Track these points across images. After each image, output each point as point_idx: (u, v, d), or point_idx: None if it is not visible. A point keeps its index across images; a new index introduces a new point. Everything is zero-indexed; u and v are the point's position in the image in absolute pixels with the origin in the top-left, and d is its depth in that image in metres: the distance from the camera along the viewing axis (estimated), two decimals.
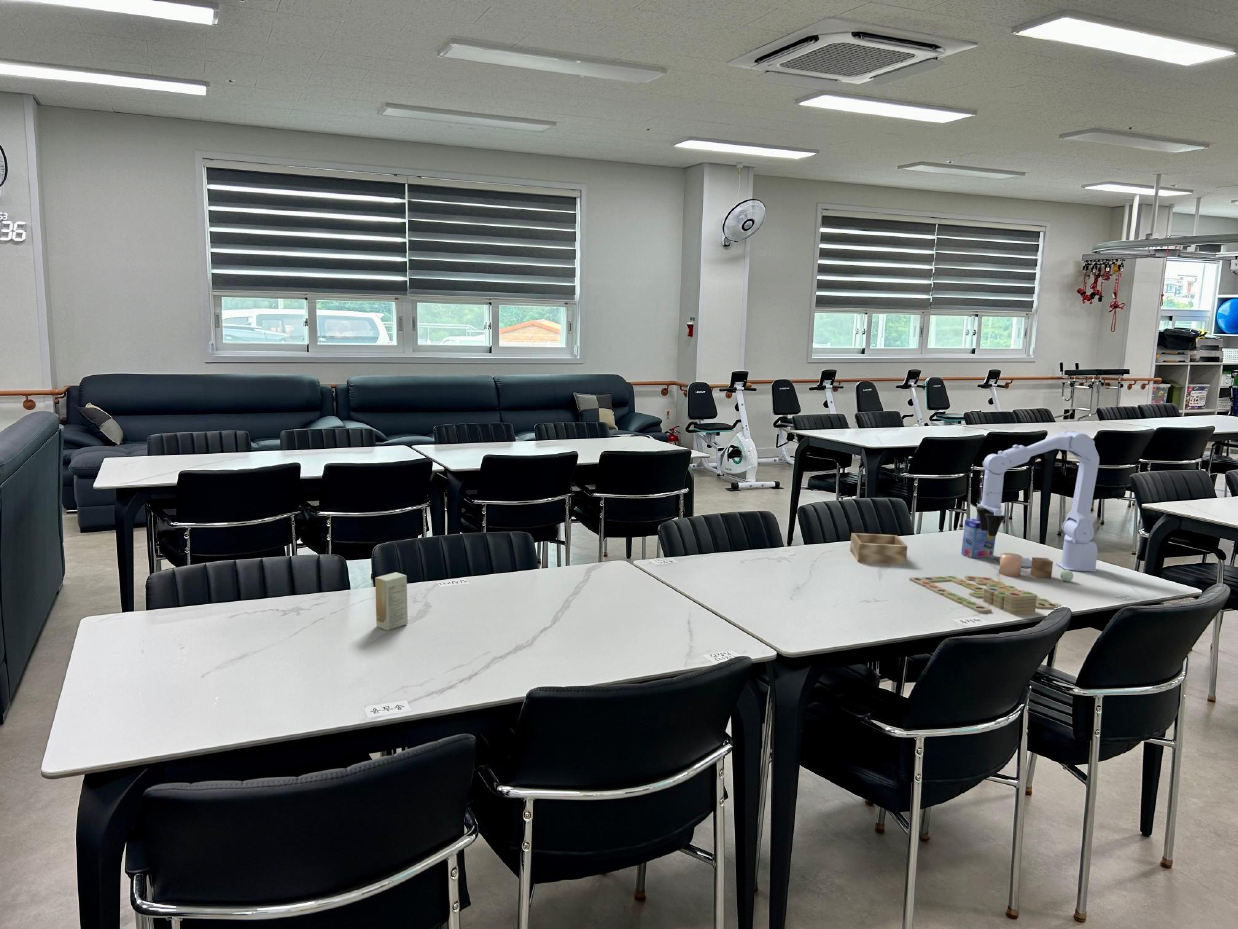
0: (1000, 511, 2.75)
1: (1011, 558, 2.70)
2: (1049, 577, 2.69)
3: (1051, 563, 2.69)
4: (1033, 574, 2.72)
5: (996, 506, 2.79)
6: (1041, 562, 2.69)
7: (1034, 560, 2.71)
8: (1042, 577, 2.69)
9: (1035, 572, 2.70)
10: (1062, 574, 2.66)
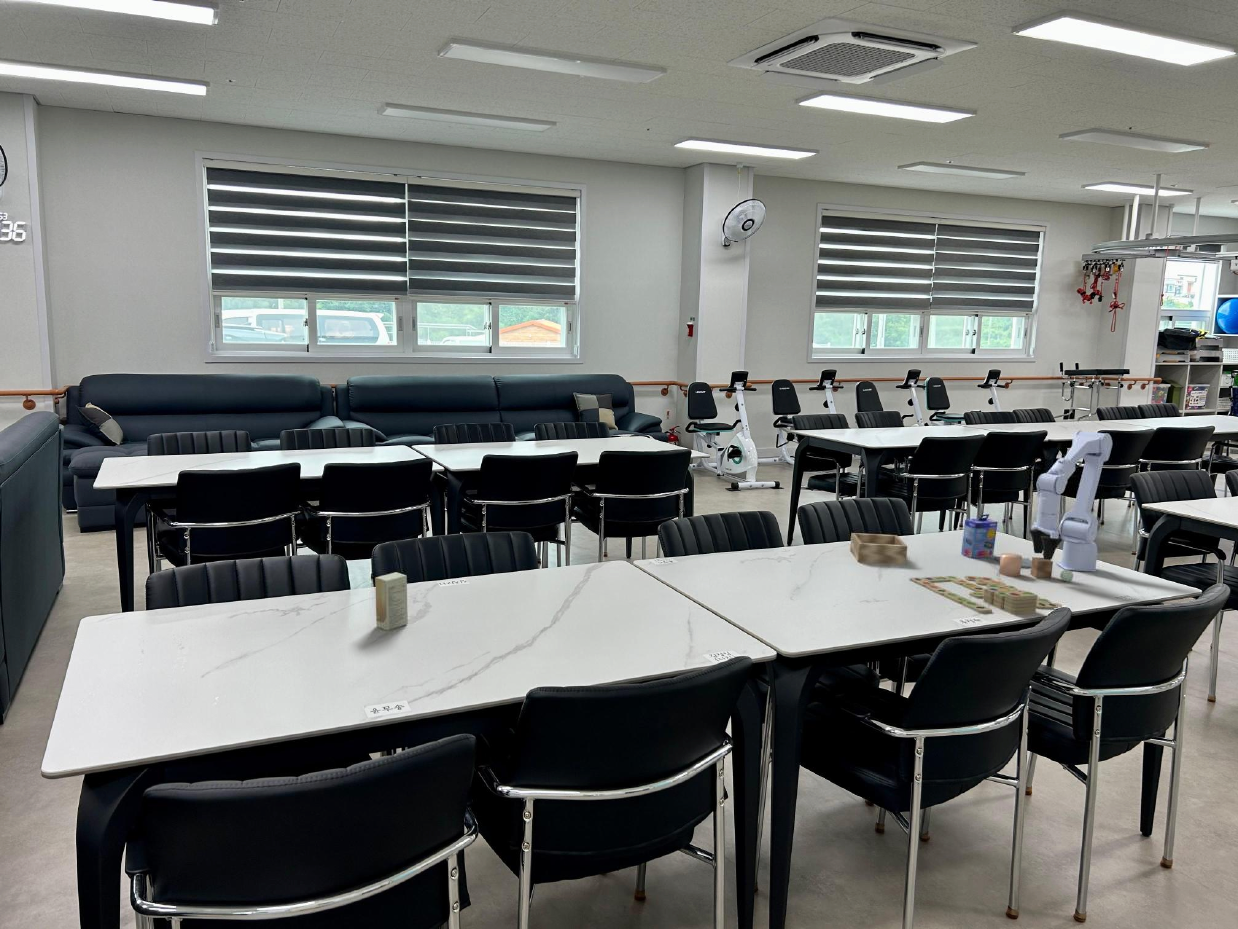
0: (1057, 534, 2.62)
1: (1011, 558, 2.70)
2: (1049, 577, 2.69)
3: (1051, 563, 2.69)
4: (1033, 574, 2.72)
5: (1052, 528, 2.66)
6: (1041, 562, 2.69)
7: (1034, 560, 2.71)
8: (1042, 577, 2.69)
9: (1035, 572, 2.70)
10: (1062, 574, 2.66)
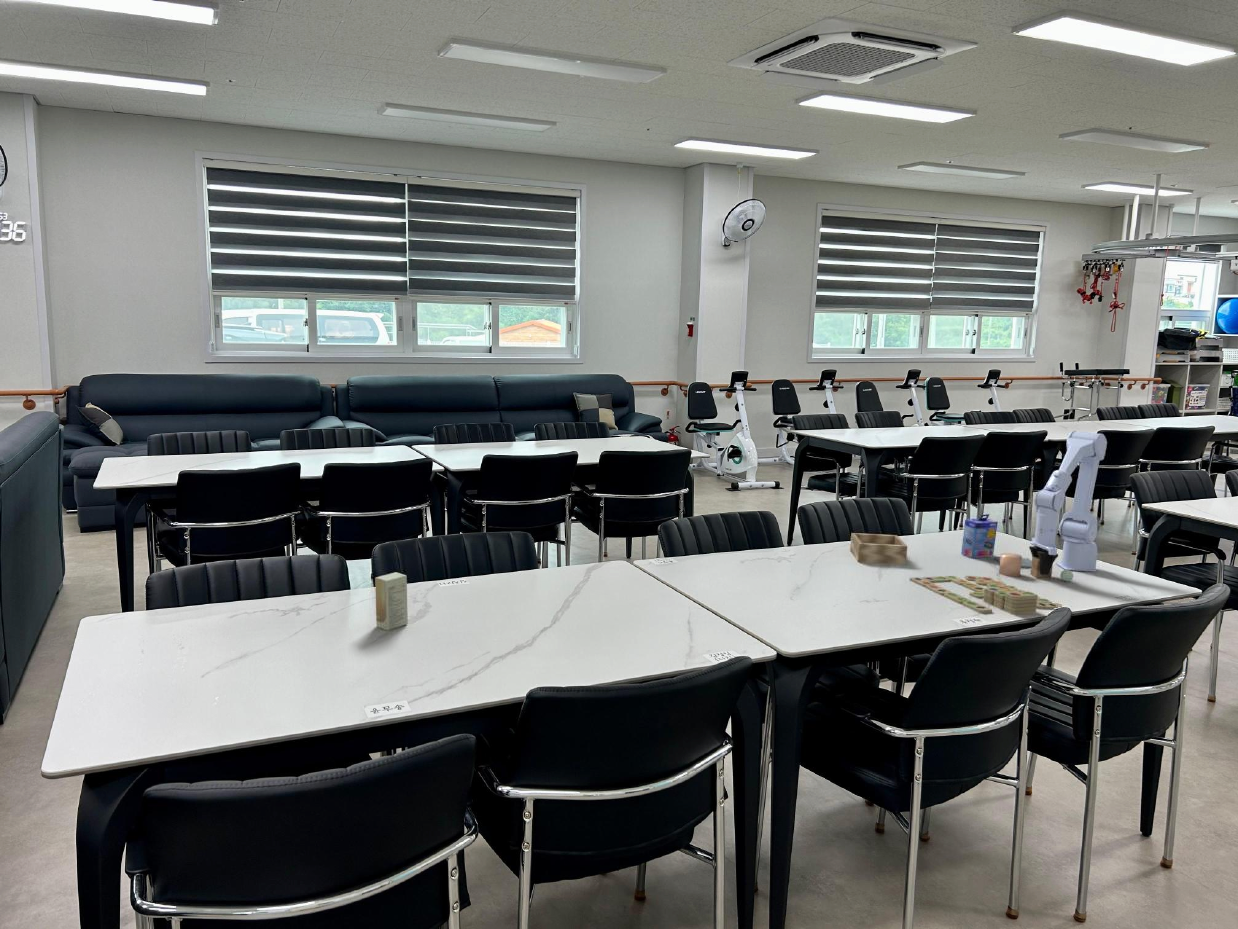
0: (1055, 550, 2.63)
1: (1011, 558, 2.70)
2: (1049, 577, 2.69)
3: None
4: (1033, 574, 2.72)
5: (1050, 544, 2.67)
6: None
7: (1034, 560, 2.71)
8: (1042, 577, 2.69)
9: (1035, 572, 2.70)
10: (1062, 574, 2.66)
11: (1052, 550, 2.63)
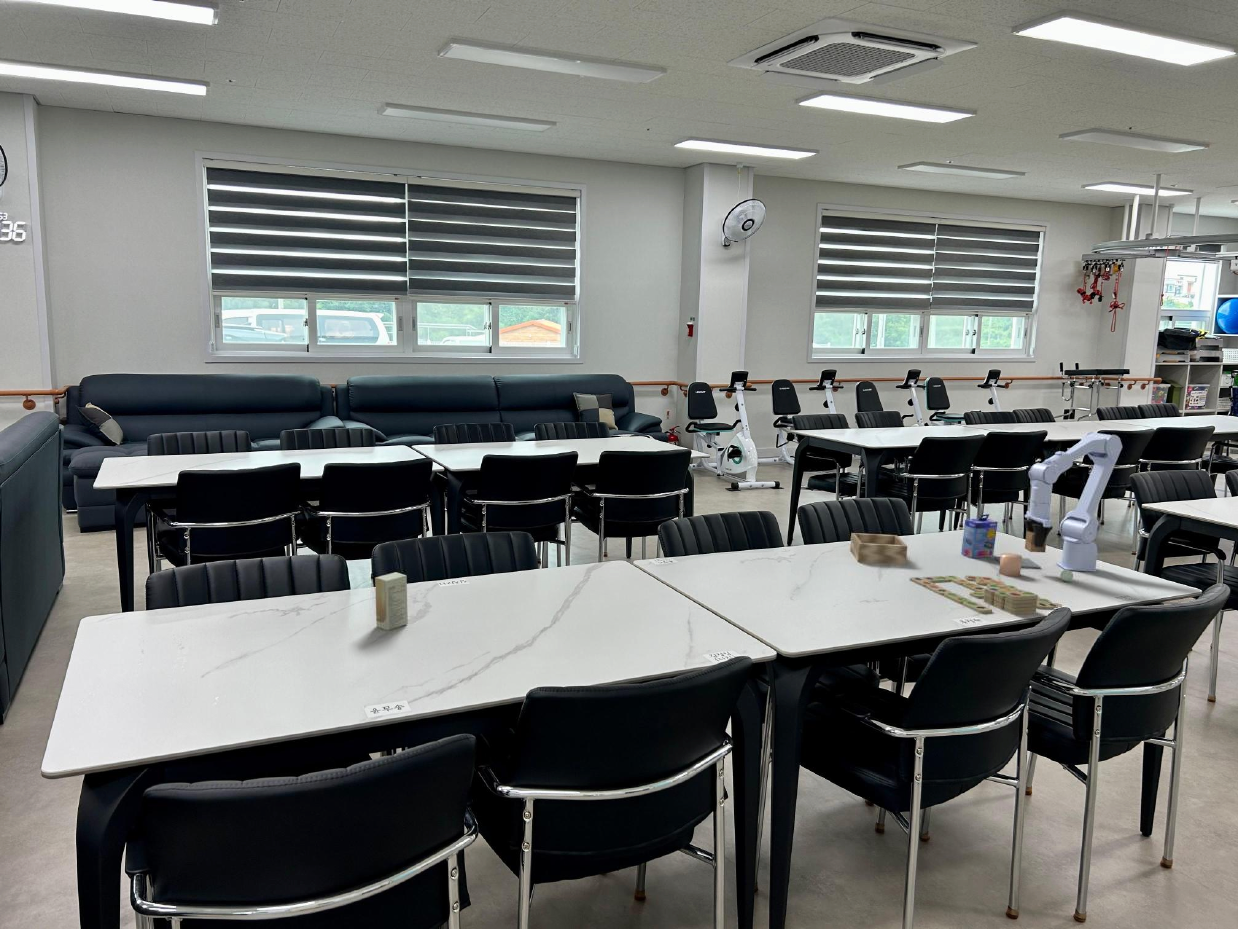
0: (1050, 522, 2.67)
1: (1011, 558, 2.70)
2: (1043, 550, 2.73)
3: None
4: (1027, 548, 2.75)
5: (1045, 517, 2.71)
6: None
7: (1028, 534, 2.75)
8: (1036, 550, 2.73)
9: (1030, 545, 2.74)
10: (1062, 574, 2.66)
11: (1047, 522, 2.67)
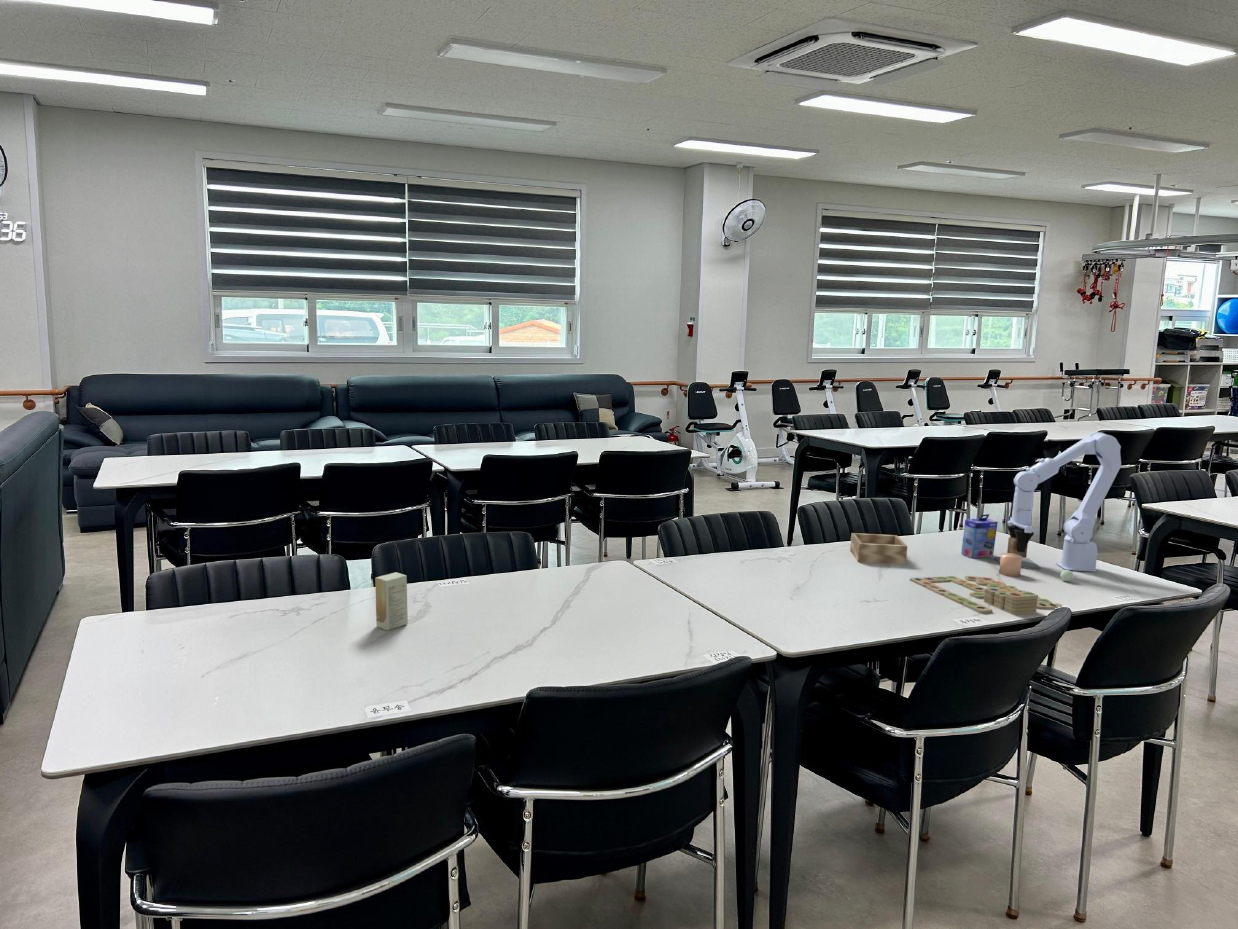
0: (1031, 528, 2.77)
1: (1011, 558, 2.70)
2: (1024, 556, 2.84)
3: None
4: None
5: (1026, 523, 2.82)
6: None
7: (1010, 540, 2.86)
8: None
9: (1011, 551, 2.84)
10: (1062, 574, 2.66)
11: (1028, 528, 2.77)
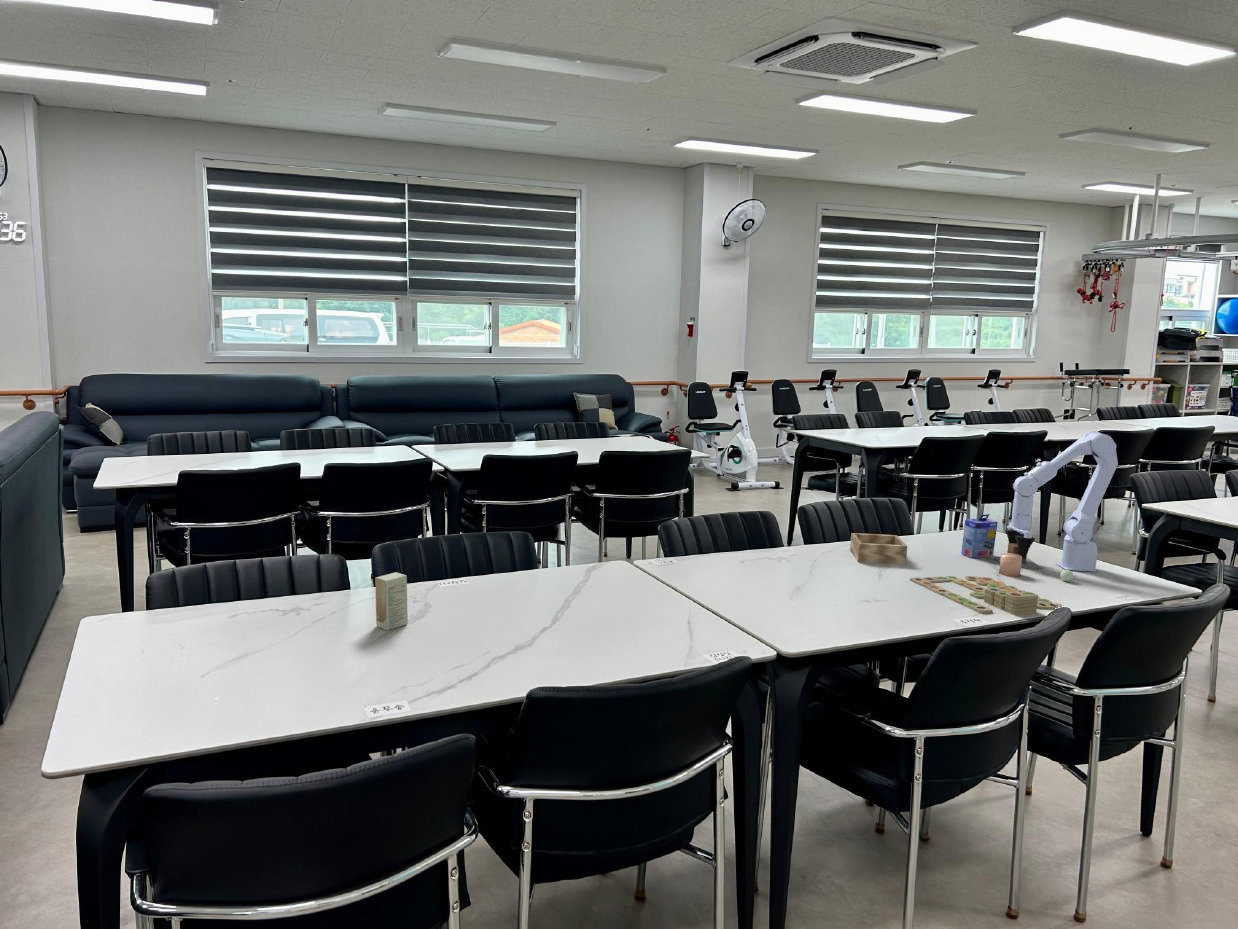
0: (1030, 533, 2.78)
1: (1011, 558, 2.70)
2: (1024, 562, 2.84)
3: None
4: None
5: (1026, 528, 2.82)
6: (1016, 547, 2.84)
7: (1010, 546, 2.86)
8: None
9: None
10: (1062, 574, 2.66)
11: (1027, 533, 2.78)
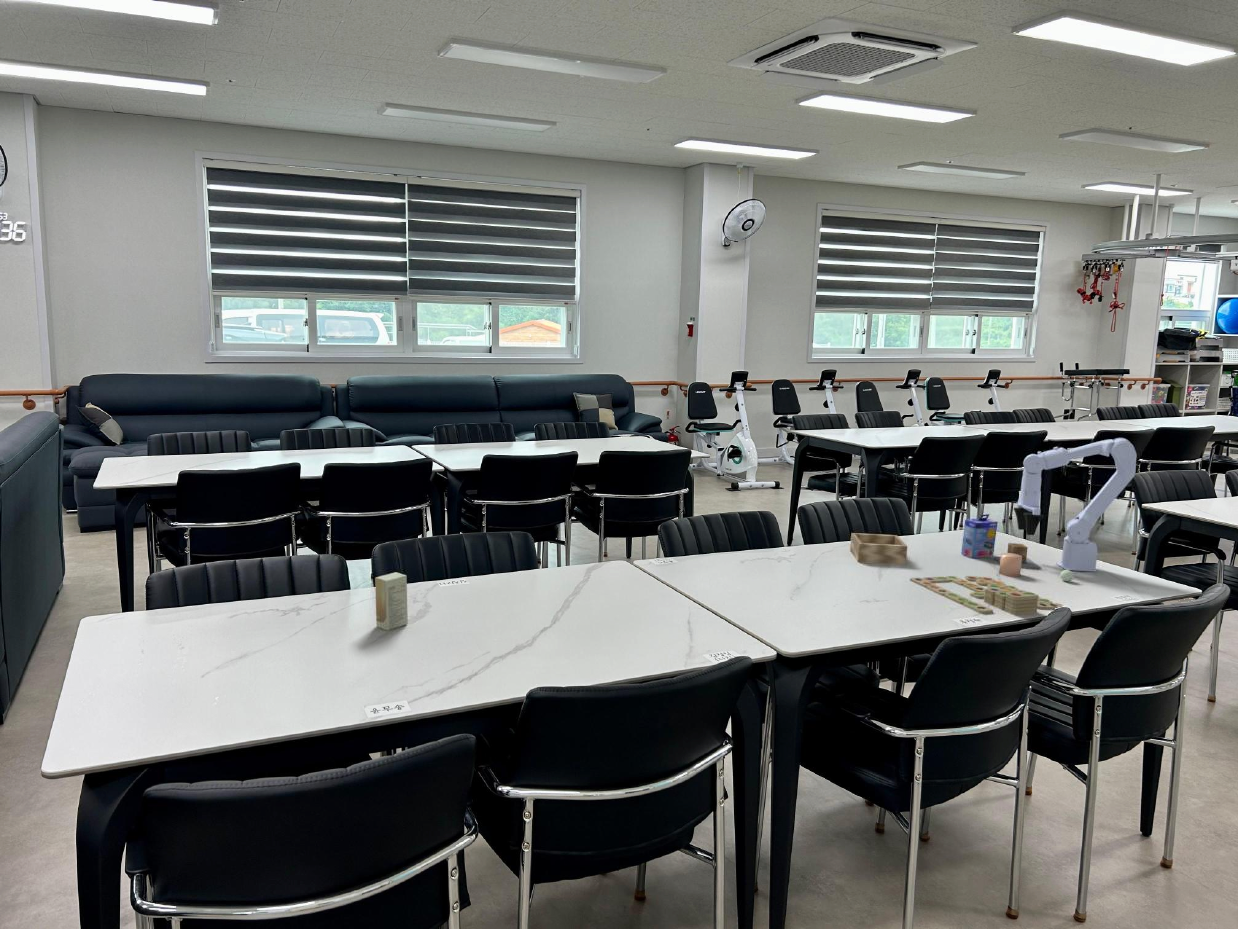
0: (1039, 510, 2.79)
1: (1011, 558, 2.70)
2: (1024, 562, 2.84)
3: (1026, 548, 2.83)
4: None
5: (1034, 505, 2.84)
6: (1016, 547, 2.84)
7: (1010, 546, 2.86)
8: None
9: None
10: (1062, 574, 2.66)
11: (1036, 510, 2.79)
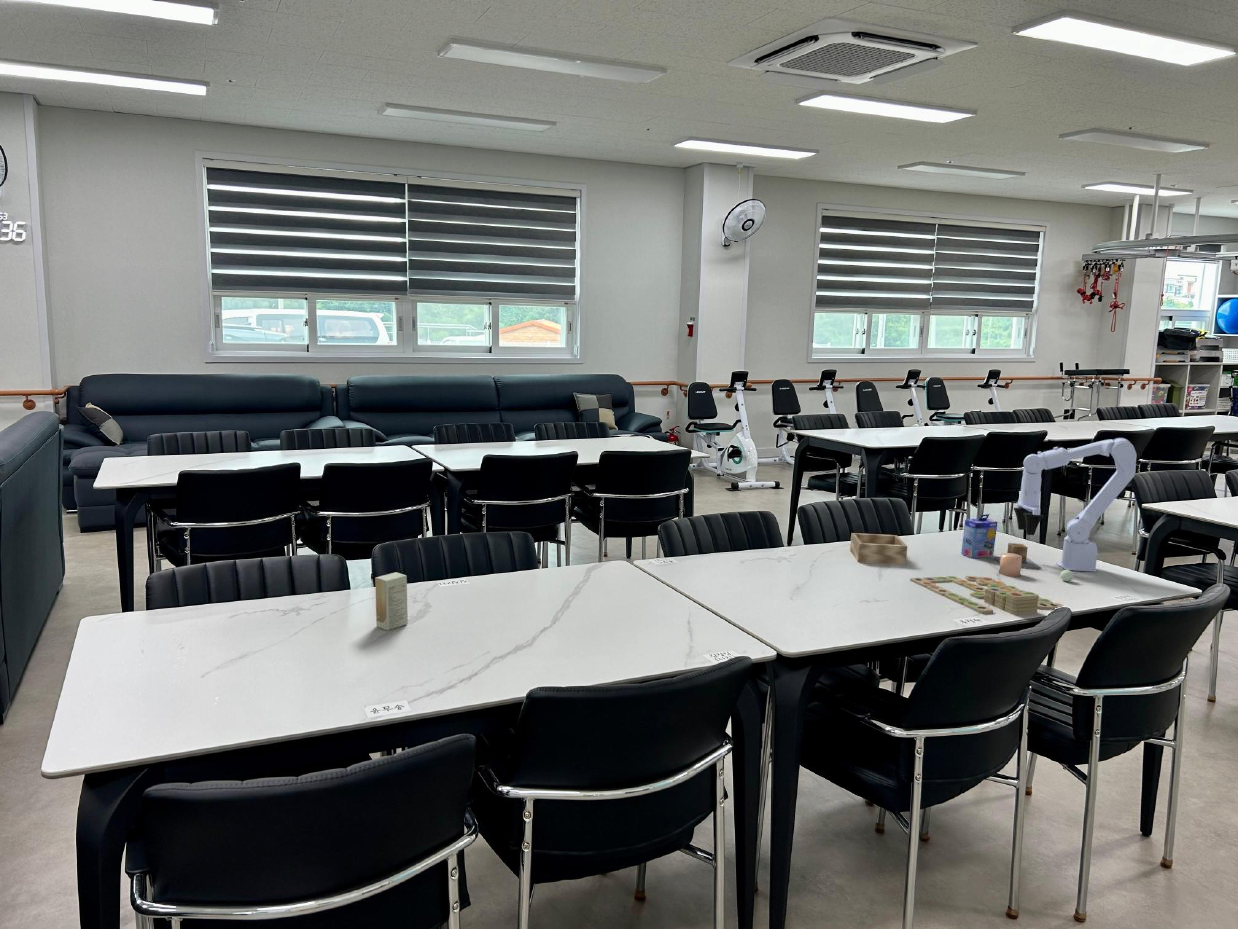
0: (1039, 510, 2.79)
1: (1011, 558, 2.70)
2: (1024, 562, 2.84)
3: (1026, 548, 2.83)
4: None
5: (1034, 505, 2.84)
6: (1016, 547, 2.84)
7: (1010, 546, 2.86)
8: None
9: None
10: (1062, 574, 2.66)
11: (1036, 510, 2.79)
